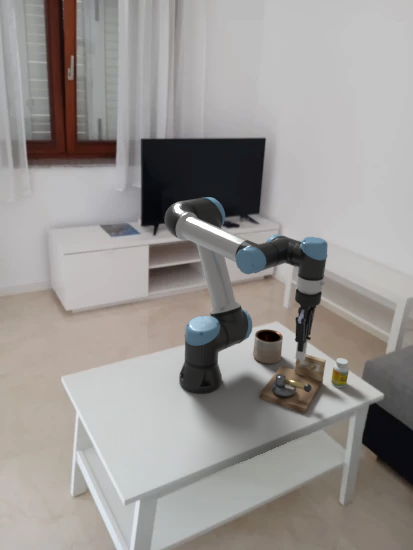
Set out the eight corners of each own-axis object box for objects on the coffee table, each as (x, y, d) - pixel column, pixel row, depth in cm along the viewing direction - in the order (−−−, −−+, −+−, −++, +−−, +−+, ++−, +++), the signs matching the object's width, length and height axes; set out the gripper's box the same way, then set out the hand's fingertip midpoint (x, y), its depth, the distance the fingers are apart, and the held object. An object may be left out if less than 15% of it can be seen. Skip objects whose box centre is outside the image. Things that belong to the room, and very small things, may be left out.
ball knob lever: (268, 393, 160) (269, 379, 158) (276, 382, 166) (278, 368, 164) (306, 407, 154) (308, 392, 152) (313, 394, 160) (315, 379, 158)
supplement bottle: (337, 378, 174) (341, 355, 170) (349, 385, 170) (353, 362, 166) (327, 382, 171) (331, 359, 168) (339, 389, 167) (342, 366, 163)
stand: (259, 398, 161) (261, 372, 157) (280, 370, 177) (283, 347, 174) (305, 413, 154) (308, 388, 150) (322, 383, 170) (326, 359, 166)
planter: (282, 365, 181) (284, 343, 177) (254, 364, 181) (255, 342, 177) (278, 350, 191) (281, 329, 187) (251, 349, 191) (253, 328, 187)
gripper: (314, 300, 133) (305, 371, 142) (327, 285, 144) (318, 352, 153) (289, 294, 136) (281, 364, 145) (303, 280, 147) (295, 346, 156)
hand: (300, 358), depth 149 cm, fingers closed
